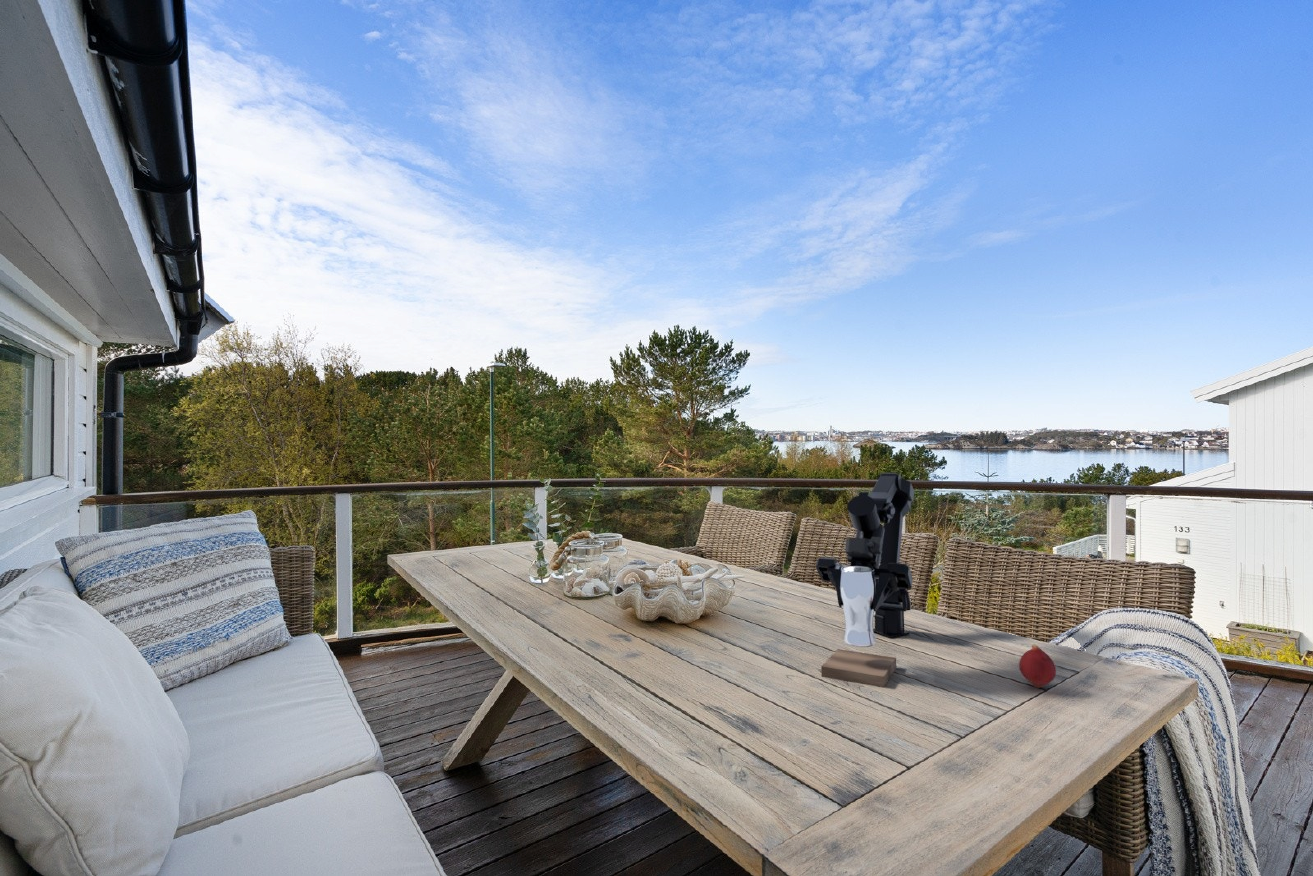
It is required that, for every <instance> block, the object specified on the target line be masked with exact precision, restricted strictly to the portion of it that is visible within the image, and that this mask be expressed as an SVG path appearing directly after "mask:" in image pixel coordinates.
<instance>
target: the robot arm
mask: <svg viewBox="0 0 1313 876" xmlns="http://www.w3.org/2000/svg"><path fill="white" fill-rule="evenodd" d="M858 492H859V493H858V495H857V496H854V497H853V498H851V499H850V500H849V501H848V502H847V504H846V507H847V512H848V515H849V518H850V519H851V520H850V521H851V523H852V526H853V529H854V530H856V533H855V537H846V539H845V550H844V552H845V553H844V554H846V555H847V556H846V557H847V558H846V560H847V562H848V563H850V564H849V566H866V567H871V568H873V569H874V574H875V582H876V595H875V600H874V605H873V610H874V627H873V632H874V633H875V632H877V633H876V634H878V633H879V634H878V635H881V636H884V637H887V636H888V638H890V637H892V638H895V637H894V636H897V637H901V636H907V635H910V631H908V630H905V612H907V611H911V610H912V606H911V598H910V593H909V591H908V590H912V589H913V575H912V571H911V568H910V566H909V564H908V563H903V562H901V561H900V559H901V550H902V549H901V546H902V537H903V522H904V517H906V515H907V514H908V513H909V512H910V511H911V506H912V502H913V501H914V499H915V491H914V487H913V485H912V482H911V481H909V480H908V479H905V478H903V477H902V476H901V474H900V473H898V472H881V473H878V476H877V481H876V483H875V485H874V487H873V489H872V490H871V491H870V492H869V491H858ZM844 566H848V565H845V564H842V563H839V562H838V560H837V558H836V557H834V558H833V557H819V558H817V560H816V564H815V569H816V571H817V573H818V576H819V578H820V581H822V582H823V583H824V582H825V583H830V584H831V585H832V586H835V591H836V595H837V597H836V598H837V603H838V606H839V608H843V606H842V601H841V593H840V576H841V568H842V567H844Z"/></svg>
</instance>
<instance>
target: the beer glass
mask: <svg viewBox="0 0 1313 876" xmlns="http://www.w3.org/2000/svg"><path fill="white" fill-rule="evenodd" d="M840 593H841V601H842V609H843V614H844V619H845V620H844V621H845V631H844V638H843V639H844V640H843V641H844V643H845V644H846V645H849V646H850V647H851V646H852V647H858V648H869V647H870V648H871V647H873V646H874V645H876V638H875V632H873V629H874V617H875V611H874V610H873V605H874V600H875V595H876V582H875V574H874V569H873V568H871V567H866V566H850V565H847V566H844V567H842V568H841V576H840Z"/></svg>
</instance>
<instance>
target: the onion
mask: <svg viewBox="0 0 1313 876" xmlns="http://www.w3.org/2000/svg"><path fill="white" fill-rule="evenodd" d="M1018 667H1019V671H1020V673H1021V675H1022V676H1023V677H1024V678H1025V680H1026V681H1028V682H1029V683H1030V684H1031V685H1032V686H1033V687H1034V688H1036V687H1037V689H1039V688H1042V687H1044V686H1047V685H1049V684H1050V683H1051V682H1052V681H1054V679H1055V677H1056V674H1057V669H1056V665H1055V663H1054V660H1053V659H1052V658H1051V656H1050V655H1049V654H1047V653H1046V652H1045V651H1044V650H1043V649H1041V647H1039V645H1037V644H1032V645H1031V649H1029V650H1026V652H1024V653H1023V654H1022V656H1021V657H1020V660H1019V663H1018Z"/></svg>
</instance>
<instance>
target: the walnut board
mask: <svg viewBox="0 0 1313 876" xmlns="http://www.w3.org/2000/svg"><path fill="white" fill-rule="evenodd" d="M895 668H897V657H893V656H885V655H880V654H873V653H866V652H860V651H853V650H848V649H847V650H846V649H840V648H839V649H838V648H837V649H836V650H835V651H834V653H833V654H831V655H830V656H829V658H828V659H826V660H825V662H824V663H822V665H821V677H824V678H829V679H834V680H835V679H836V680H840V681H847V682H851V683H856V682H857V683H858V684H863V685H868V686H874V687H880V688H885V686H886V684H887V683H888V681H889V680H890V678H891V677H892V676H893V674H894V672H895V670H896V669H895ZM857 683H856V684H857Z"/></svg>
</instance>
